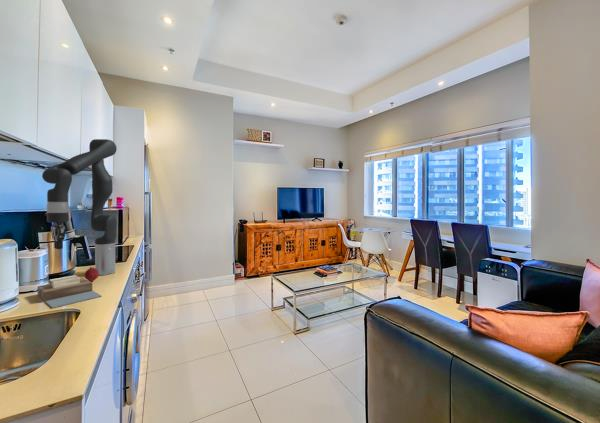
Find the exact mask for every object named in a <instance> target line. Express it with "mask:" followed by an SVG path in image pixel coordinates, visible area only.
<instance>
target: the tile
mask: <svg viewBox="0 0 600 423" xmlns="http://www.w3.org/2000/svg"><path fill="white" fill-rule="evenodd" d="M80 278H81V277H79V276H78V275H77V274H75V275H68V276H63V277H59V278H52V279H51V278H50V279H49V284H50V286H51V287H53V288H57V287H62V286H67V285H72V284H77V283H80Z"/></svg>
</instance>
